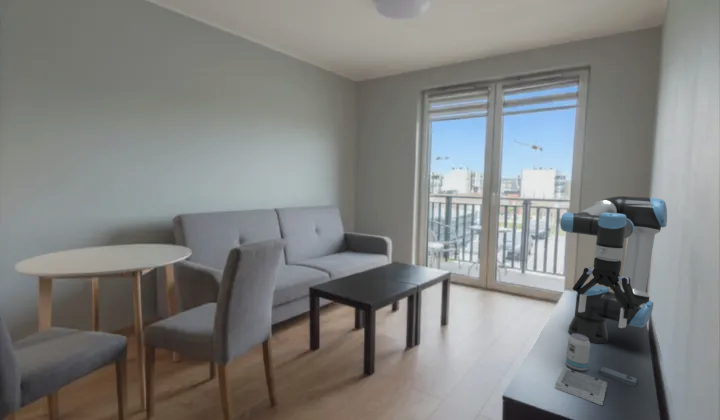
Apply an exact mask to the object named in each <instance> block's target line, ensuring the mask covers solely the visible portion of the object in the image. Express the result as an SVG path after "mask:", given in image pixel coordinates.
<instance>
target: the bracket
mask: <svg viewBox="0 0 720 420" xmlns="http://www.w3.org/2000/svg"><path fill="white" fill-rule="evenodd" d="M598 374H599V376H602V377H603V376H604V377H606V378H609V379H611V380H614V381H617V382H620V383H622V384H625V385H628V386H630V387H634V388H636V385H637V383H638V378H637V377H633V376H631V375H630V376H629V378H628V375H627V374H625V373H622V372H619V371H616V370H614V369H610V368H609V367H608V368H607V367H604V366H601V367H600V369H599V373H598Z"/></svg>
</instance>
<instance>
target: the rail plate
mask: <svg viewBox="0 0 720 420" xmlns="http://www.w3.org/2000/svg"><path fill="white" fill-rule="evenodd" d="M554 388H555V389H557V390H559V391H562V392H563V393H564V392H565V393H567V394H569V395H573V396H574V397H575V396H576V397H578V398H581V399H584V400H586V401H589V402H592V403H594V404H597V405H599V406H603V404H604V400H605V396H606V392H607V389H608V382H607V381H605V380H602V379H598V378H596V377H593V376H590V375H587V374H584V373H580V372H579V371H576V370H573V369H569V368H567V367H563V368H562V370H561V371H560V373H559V375H558V377H557V380H556V381H555V386H554Z"/></svg>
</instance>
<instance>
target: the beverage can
mask: <svg viewBox="0 0 720 420" xmlns="http://www.w3.org/2000/svg"><path fill="white" fill-rule="evenodd" d="M567 340H568V342H567V348H566V349H567V351H566V357H565V363H566V365H567V366H568V367H569V368H570V369H571V370H573V371H575V372H584V371H586V370H588V368H589V359H590V350H591V342H589V338H588V337H586V336H584V335H581V334H576V333H573V334H570V336H569V337H568V339H567Z"/></svg>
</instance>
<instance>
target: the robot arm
mask: <svg viewBox="0 0 720 420" xmlns="http://www.w3.org/2000/svg"><path fill="white" fill-rule="evenodd" d="M667 209H668V208H667V204H666V201H665V200H664V199H661V198H654V197H640V196H625V195H623V196H622V195H621V196H620V195H619V196H618V195H617V196H610V197H607V198H603V199H600V200H597V201H596V202H594V203H593V204H592V206H590V207H587V208H586V209H584V210H582V211H579V212H577V213H575V212H564V213H563V214H562V215H561V217H560V229H561V231H563V232H567V233H570V234H572V233H573V234H578V235H579V234H581V235H589V236H595V237H596V244H595V253H594V256H595V257H594V259H593V269H592V268H591V267H584V268H583V271H582V274H581V275H580V276H579V278H578V280H577V281H576V282H575V284H574V286H573V287H572V290H573V291H576V297H575V310H574V315H573V317H572V319H571V322H570V324H569V325H568V329H567V332H568V334H570V335H571V334H573V333H576V334H581V335H584V336H586V337H588V338H589V342H590V343H593V344H605V343H607V342H608V341H609V333H608V330H607V326H606V319H607V320H610V321H615V322H617V323H618V328H620V329H623V328H624V329H625V328H627V325H628V326H630V327H636V328H644V327H645V326H646V325H647V324H648V322H649V320H650V317H651V315H652V312H653V310H654V308H653V307H654V302H653V301H652V300H650V295H649V294H648V292H647V286H648V280H649V279H648V278H649V272H650V267H651V261H652V255H653V248H654V242H655V236H656V235H657V234H658V233H660V232H661V229H662V228H666V227H667V223H668V210H667ZM625 239H627V243H626V250H625V255H624V262H623V268H622V261H621V260H622V259H623V253H624V242H625ZM621 268H622V271H621ZM621 272H622V274H621V275H620V273H621ZM591 275H592V276H593V278H592V279H590V281H588V282H587V280H588V279H589V278H590V276H591ZM586 282H587V283H586ZM619 282H620V284H619ZM610 290H612V291H613V292H612V291H610Z"/></svg>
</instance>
